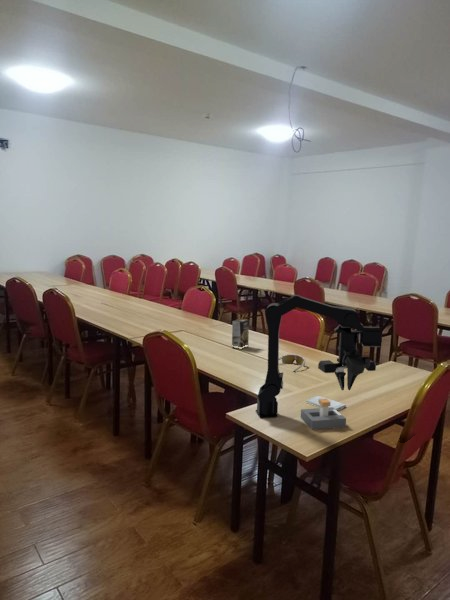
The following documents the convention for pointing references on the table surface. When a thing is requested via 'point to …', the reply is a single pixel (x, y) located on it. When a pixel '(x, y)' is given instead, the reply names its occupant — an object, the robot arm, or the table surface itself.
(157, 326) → the table surface
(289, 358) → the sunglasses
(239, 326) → the coffee box
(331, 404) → the hard drive
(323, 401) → the lever
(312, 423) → the breaker panel
